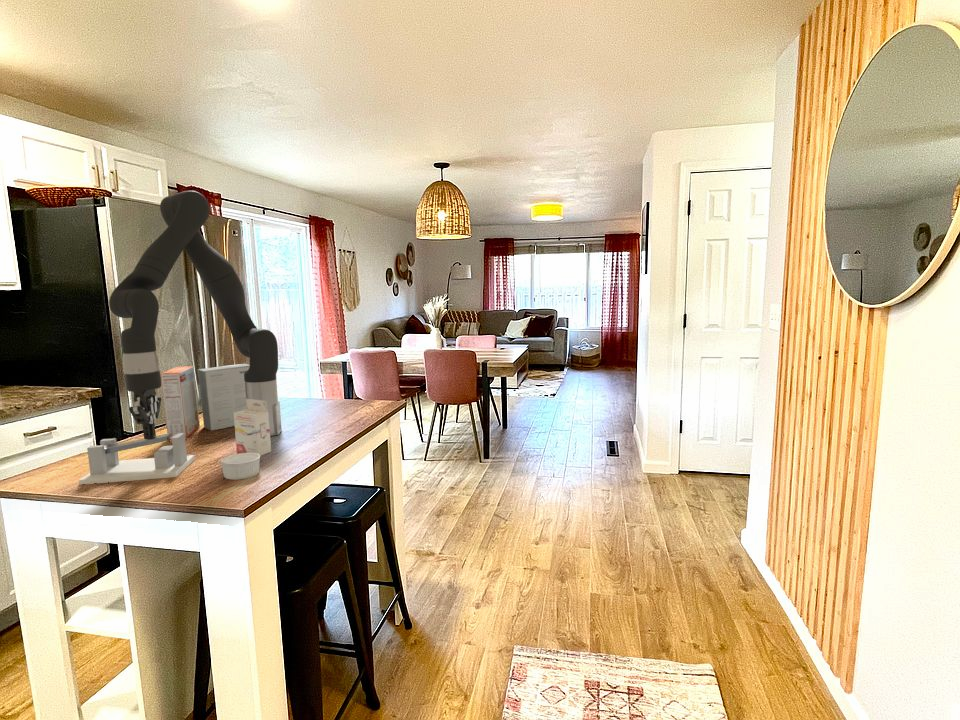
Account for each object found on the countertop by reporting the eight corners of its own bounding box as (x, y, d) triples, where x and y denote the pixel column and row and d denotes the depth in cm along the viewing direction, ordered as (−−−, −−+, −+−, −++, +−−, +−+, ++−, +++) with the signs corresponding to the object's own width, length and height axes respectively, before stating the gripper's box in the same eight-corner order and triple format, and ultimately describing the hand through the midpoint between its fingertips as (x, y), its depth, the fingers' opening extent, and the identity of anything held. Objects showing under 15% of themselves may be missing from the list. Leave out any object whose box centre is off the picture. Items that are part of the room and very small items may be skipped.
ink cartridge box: (235, 453, 146) (231, 401, 144) (250, 448, 150) (246, 398, 148) (258, 457, 142) (253, 404, 140) (272, 451, 147) (268, 400, 145)
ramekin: (235, 468, 134) (233, 451, 133) (268, 468, 133) (267, 452, 132) (214, 480, 125) (212, 463, 124) (249, 481, 124) (247, 464, 123)
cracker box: (180, 428, 174) (174, 366, 171) (200, 427, 176) (194, 365, 173) (166, 440, 161) (159, 372, 158) (187, 438, 162) (181, 371, 159)
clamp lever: (173, 438, 135) (170, 430, 134) (167, 442, 131) (165, 434, 131) (103, 453, 132) (100, 445, 132) (95, 458, 128) (93, 449, 128)
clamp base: (195, 459, 141) (192, 428, 140) (176, 477, 128) (172, 442, 127) (108, 465, 137) (104, 433, 136) (79, 484, 124) (74, 449, 123)
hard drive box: (250, 418, 186) (245, 363, 184) (258, 422, 181) (253, 365, 178) (202, 427, 176) (197, 368, 173) (209, 431, 170) (203, 370, 168)
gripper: (147, 373, 124) (155, 444, 126) (168, 365, 137) (176, 430, 139) (111, 375, 122) (121, 447, 125) (137, 367, 135) (145, 432, 138)
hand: (150, 438), depth 132 cm, fingers closed
